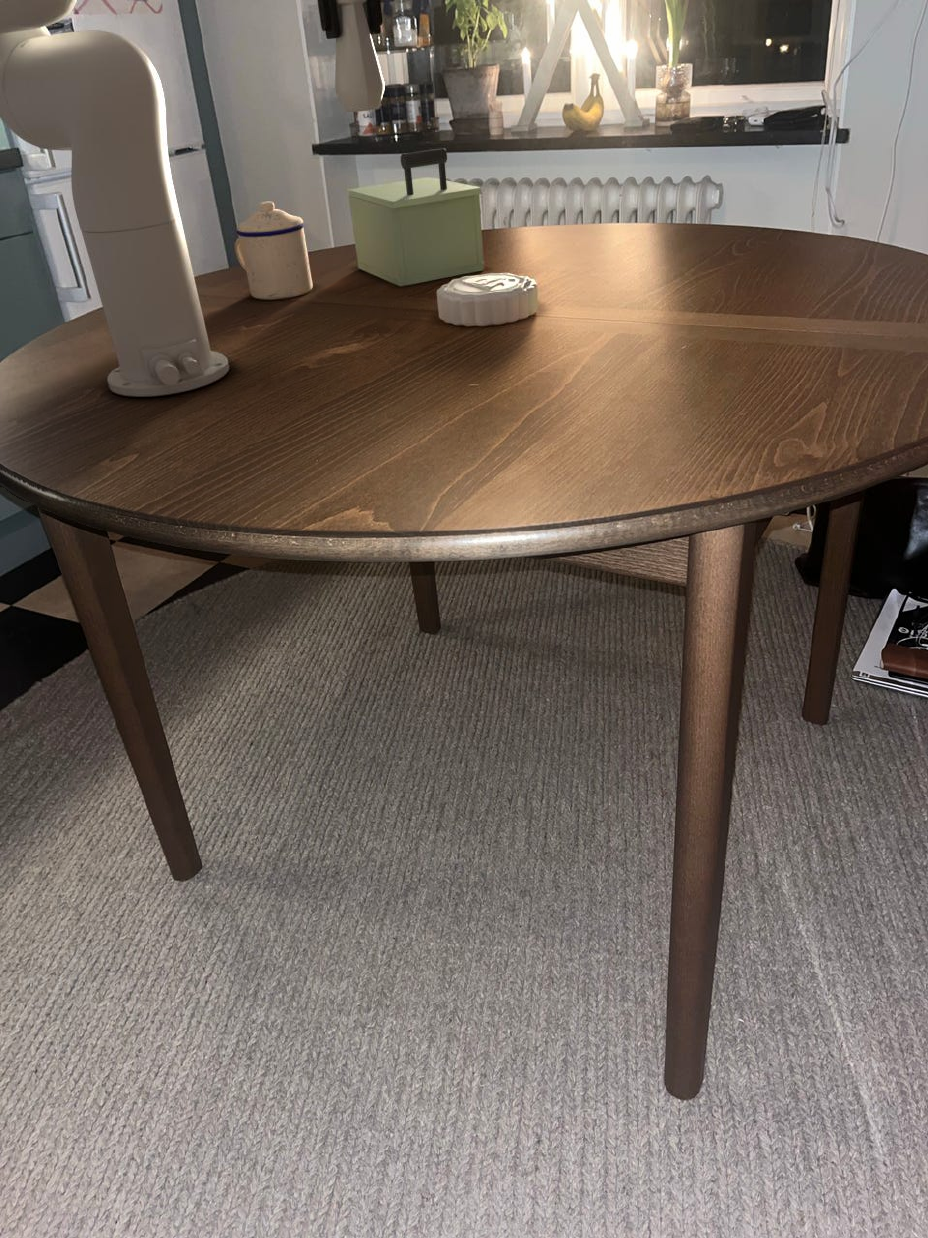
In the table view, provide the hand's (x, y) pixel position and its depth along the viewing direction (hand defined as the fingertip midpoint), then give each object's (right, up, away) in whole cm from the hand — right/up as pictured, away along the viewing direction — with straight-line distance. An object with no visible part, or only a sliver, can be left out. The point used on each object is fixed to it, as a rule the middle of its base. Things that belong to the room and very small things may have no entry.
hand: (353, 33), depth 108 cm
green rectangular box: (+6, -17, +28) cm, 33 cm away
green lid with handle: (+6, -8, +23) cm, 25 cm away
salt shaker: (+1, -7, +4) cm, 8 cm away
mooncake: (+16, -31, +4) cm, 35 cm away
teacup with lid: (-14, -22, +24) cm, 35 cm away
